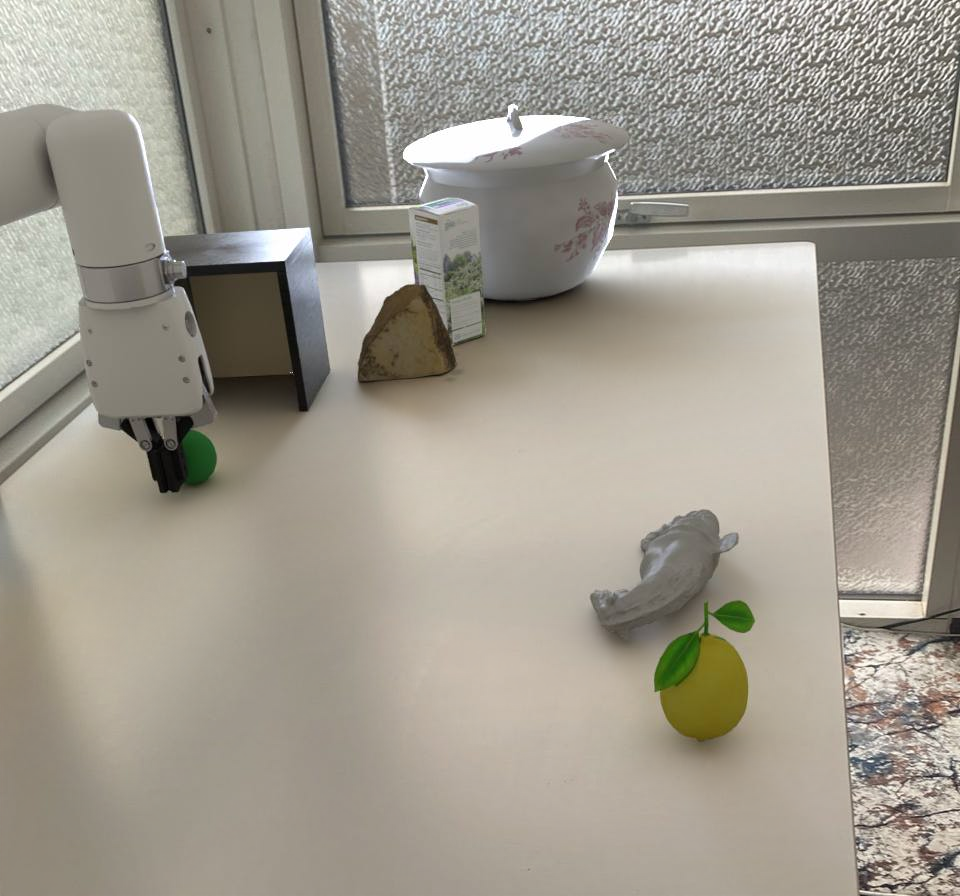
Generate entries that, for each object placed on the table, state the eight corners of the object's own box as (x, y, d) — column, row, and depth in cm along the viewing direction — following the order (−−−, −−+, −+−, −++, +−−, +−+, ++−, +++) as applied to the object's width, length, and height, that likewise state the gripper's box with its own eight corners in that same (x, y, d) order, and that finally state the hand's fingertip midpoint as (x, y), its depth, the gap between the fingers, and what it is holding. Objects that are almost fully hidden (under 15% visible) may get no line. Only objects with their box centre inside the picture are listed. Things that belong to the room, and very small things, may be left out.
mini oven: (141, 421, 142) (106, 273, 133) (177, 376, 153) (147, 237, 144) (306, 414, 140) (282, 263, 131) (330, 369, 151) (310, 227, 142)
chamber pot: (520, 333, 156) (508, 136, 143) (373, 296, 173) (352, 116, 160) (678, 274, 170) (680, 90, 157) (528, 245, 187) (519, 76, 174)
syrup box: (456, 326, 160) (445, 195, 151) (488, 336, 156) (478, 201, 147) (419, 339, 157) (405, 205, 148) (450, 348, 153) (438, 212, 145)
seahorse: (591, 522, 111) (572, 603, 94) (725, 471, 107) (730, 546, 90) (613, 578, 113) (598, 667, 96) (745, 530, 110) (754, 614, 92)
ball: (179, 468, 130) (166, 496, 126) (163, 421, 126) (149, 448, 123) (228, 464, 129) (216, 492, 126) (213, 417, 126) (201, 444, 122)
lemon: (749, 711, 88) (757, 574, 82) (761, 761, 84) (770, 619, 78) (648, 716, 89) (648, 580, 83) (654, 766, 84) (654, 625, 78)
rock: (334, 370, 143) (417, 361, 139) (338, 290, 143) (421, 279, 139) (382, 402, 153) (461, 394, 149) (386, 327, 153) (465, 318, 149)
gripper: (223, 262, 114) (261, 468, 125) (57, 271, 116) (109, 473, 127) (199, 287, 108) (241, 501, 119) (25, 296, 110) (82, 506, 121)
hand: (173, 486), depth 123 cm, fingers closed
